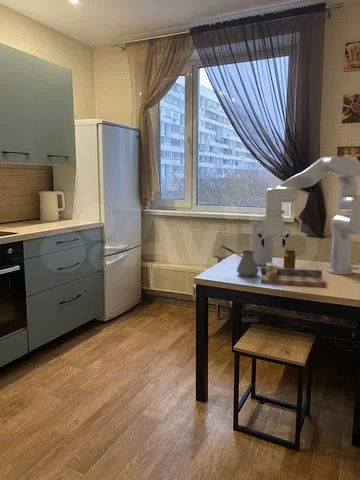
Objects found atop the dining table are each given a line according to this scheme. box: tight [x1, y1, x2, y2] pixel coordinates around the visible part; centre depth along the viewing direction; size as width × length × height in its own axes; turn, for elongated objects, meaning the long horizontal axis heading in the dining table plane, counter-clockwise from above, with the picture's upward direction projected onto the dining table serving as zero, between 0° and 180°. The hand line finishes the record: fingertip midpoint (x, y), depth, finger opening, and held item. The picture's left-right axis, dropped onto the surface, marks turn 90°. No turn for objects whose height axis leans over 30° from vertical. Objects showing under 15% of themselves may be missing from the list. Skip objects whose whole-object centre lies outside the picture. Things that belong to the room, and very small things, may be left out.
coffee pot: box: [219, 245, 259, 278], centre depth 198 cm, size 21×12×15 cm, turn 63°
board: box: [260, 266, 326, 288], centre depth 185 cm, size 30×12×5 cm, turn 77°
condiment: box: [283, 248, 296, 269], centre depth 204 cm, size 7×8×12 cm
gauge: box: [266, 262, 278, 279], centre depth 186 cm, size 5×10×6 cm, turn 167°
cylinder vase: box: [250, 220, 274, 267], centre depth 219 cm, size 12×12×25 cm
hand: (273, 246), depth 186 cm, fingers open, 9 cm apart
